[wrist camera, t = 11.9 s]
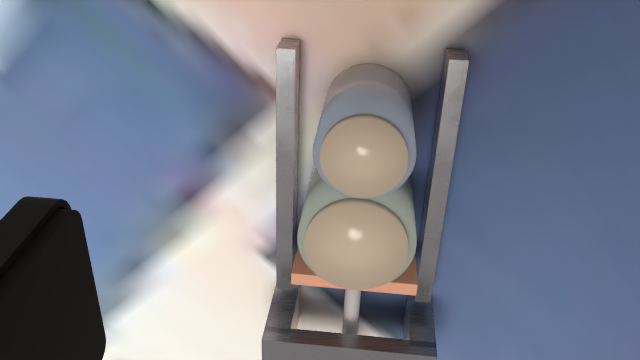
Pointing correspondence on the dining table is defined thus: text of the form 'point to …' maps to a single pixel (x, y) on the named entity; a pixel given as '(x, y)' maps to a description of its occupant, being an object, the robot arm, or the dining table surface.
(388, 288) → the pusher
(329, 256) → the jar resting
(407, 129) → the jar
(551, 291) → the dining table surface
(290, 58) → the lane
